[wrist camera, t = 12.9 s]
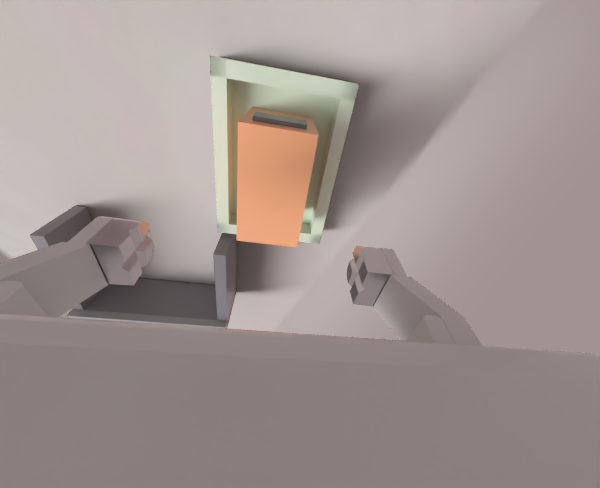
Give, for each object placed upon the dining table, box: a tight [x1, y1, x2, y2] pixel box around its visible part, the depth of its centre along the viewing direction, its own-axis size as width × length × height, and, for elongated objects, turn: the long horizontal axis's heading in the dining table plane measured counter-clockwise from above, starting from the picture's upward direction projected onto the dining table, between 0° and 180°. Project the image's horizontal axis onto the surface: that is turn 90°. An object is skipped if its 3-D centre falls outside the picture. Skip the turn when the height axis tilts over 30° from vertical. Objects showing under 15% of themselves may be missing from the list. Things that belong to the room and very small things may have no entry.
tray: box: [210, 56, 359, 244], centre depth 20 cm, size 13×10×2 cm
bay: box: [30, 206, 236, 329], centre depth 25 cm, size 10×15×6 cm
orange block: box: [237, 107, 319, 247], centre depth 18 cm, size 8×4×6 cm, turn 171°
